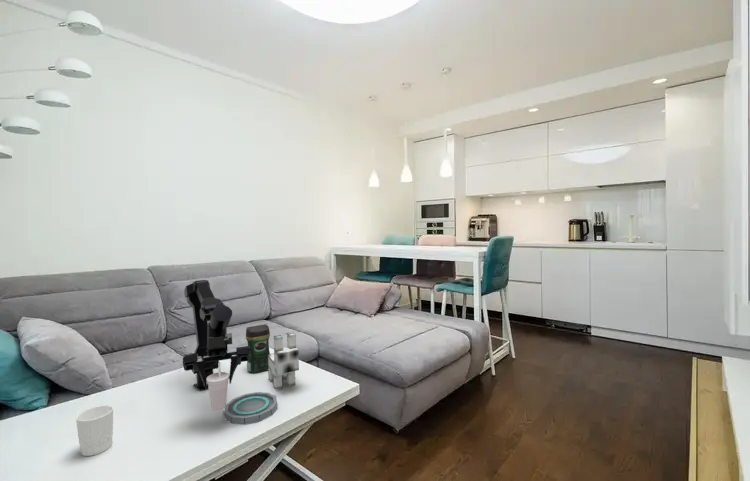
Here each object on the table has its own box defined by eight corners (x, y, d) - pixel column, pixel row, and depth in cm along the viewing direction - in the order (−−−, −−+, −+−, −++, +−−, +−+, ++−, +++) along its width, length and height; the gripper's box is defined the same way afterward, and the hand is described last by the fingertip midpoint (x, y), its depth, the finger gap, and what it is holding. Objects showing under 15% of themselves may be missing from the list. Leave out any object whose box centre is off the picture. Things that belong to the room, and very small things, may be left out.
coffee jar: (268, 363, 152) (266, 321, 152) (273, 369, 146) (272, 326, 145) (245, 368, 147) (243, 325, 146) (249, 375, 141) (247, 330, 140)
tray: (215, 412, 113) (215, 406, 113) (259, 393, 125) (259, 387, 125) (241, 430, 103) (241, 423, 103) (286, 407, 115) (286, 401, 115)
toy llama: (285, 372, 142) (284, 324, 141) (299, 390, 127) (298, 336, 126) (267, 377, 139) (265, 327, 138) (279, 395, 124) (277, 340, 123)
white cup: (92, 440, 99) (90, 406, 99) (121, 438, 100) (119, 404, 99) (70, 459, 91) (68, 421, 91) (102, 456, 92) (100, 419, 91)
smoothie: (224, 413, 102) (223, 367, 101) (203, 413, 102) (201, 367, 101) (233, 402, 108) (232, 358, 107) (213, 402, 108) (211, 358, 108)
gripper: (181, 329, 103) (179, 381, 94) (248, 321, 111) (252, 368, 102) (185, 345, 111) (183, 395, 102) (247, 337, 119) (251, 383, 109)
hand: (218, 385), depth 103 cm, fingers closed on smoothie, 6 cm apart
